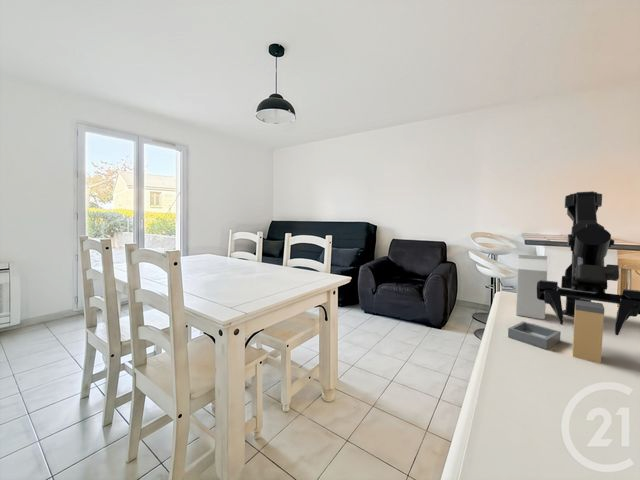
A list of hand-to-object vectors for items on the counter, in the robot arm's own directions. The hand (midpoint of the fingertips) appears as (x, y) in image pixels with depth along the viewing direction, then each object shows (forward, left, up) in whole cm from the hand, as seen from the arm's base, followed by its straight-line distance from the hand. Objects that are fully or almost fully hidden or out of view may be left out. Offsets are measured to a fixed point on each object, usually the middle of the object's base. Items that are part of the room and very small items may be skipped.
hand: (588, 328), depth 60 cm
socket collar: (0, -11, -7) cm, 12 cm away
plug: (-1, -1, -7) cm, 7 cm away
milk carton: (-18, -21, -7) cm, 29 cm away
